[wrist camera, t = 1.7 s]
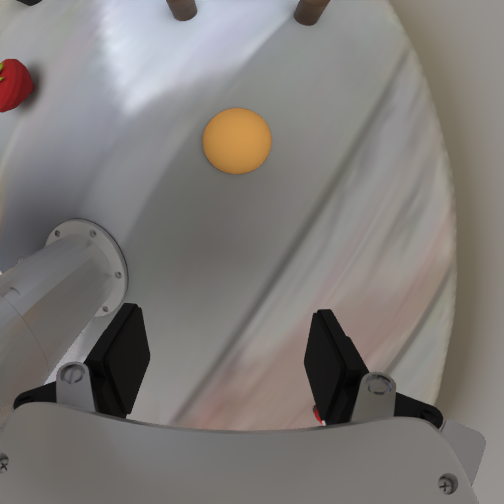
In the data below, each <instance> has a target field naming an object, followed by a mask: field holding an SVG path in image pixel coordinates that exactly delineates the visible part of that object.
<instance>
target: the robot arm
mask: <svg viewBox="0 0 504 504" xmlns="http://www.w3.org/2000/svg"><path fill="white" fill-rule="evenodd" d="M95 232H96V233H95ZM127 283H128V276H127V268H126V264H125V260H124V258H123V255H122V253H121V251H120V249H119V247H118V246H117V244H116V242H115V241H114V240H113V239H112V237H111V236H110V235H109V234H108V233H107V232H106V231H105V230H103V229H102V228H101V227H100V226H98V225H96V224H95V223H93V222H90V221H87V220H83V219H73V220H68V221H66V222H63V223H61V224H60V225H58V226H57V227H55V228H54V230H53V231H52V232H51V233H50V235H49V237H48V238H47V241H46V244H45V248H43V249H41V250H39V251H38V252H36V253H34V254H33V255H31V256H29V257H22V256H21V257H20V258H19V259H18V262H17V264H16V265H15V266H13V267H12V268H10V269H9V270H7V271H6V272H4V273H3V274H1V275H0V504H479V502H478V500H477V497H476V495H475V493H474V490H473V488H472V484H473V481H474V479H475V476H476V474H477V471H478V468H479V465H480V462H481V459H482V456H483V452H484V449H485V445H486V441H485V438H484V436H483V435H482V434H481V433H480V432H478V431H475V430H473V429H471V428H468V427H466V426H464V425H462V424H459V423H457V422H455V421H453V420H450V419H447V420H446V421H445V420H443V416H442V414H441V412H440V411H439V410H438V409H437V408H436V407H434V406H431V405H429V404H426V403H423V402H421V401H418V400H415V399H413V398H410V397H408V396H405V395H402V394H400V393H397V392H396V383H395V382H394V380H393V379H392V378H391V377H390V376H388V375H387V374H384V373H381V372H370V373H369V371H368V369H367V367H366V365H365V364H364V362H363V360H362V358H361V356H360V355H359V353H358V351H357V349H356V347H355V346H354V344H353V342H352V340H351V339H350V337H348V336H346V335H345V333H344V331H343V330H342V328H341V326H340V324H339V323H338V321H337V319H336V317H335V315H334V314H333V312H332V310H331V309H320V310H318V311H317V313H313V317H312V322H311V327H310V333H309V338H308V343H307V348H306V353H305V357H304V366H305V369H306V373H307V376H308V379H309V383H310V386H311V390H312V393H313V396H314V400H315V403H316V407H317V410H318V414H319V417H320V420H321V421H325V424H326V426H318V427H308V428H298V429H284V430H257V431H234V430H209V429H195V428H184V427H175V426H167V425H159V424H152V423H146V422H140V421H135V420H129V419H126V416H127V414H130V413H131V411H132V408H133V405H134V402H135V399H136V397H137V394H138V391H139V388H140V386H141V383H142V380H143V377H144V375H145V372H146V369H147V367H148V364H149V361H150V351H149V346H148V341H147V336H146V331H145V326H144V320H143V314H142V309H141V308H140V307H138V305H137V304H132V303H124V304H123V305H122V307H121V308H120V310H119V311H118V313H117V314H116V315H115V317H114V318H113V320H112V321H111V323H110V324H109V326H108V327H107V329H106V330H105V331H104V332H103V333H102V335H101V336H100V338H99V339H98V341H97V343H96V344H95V346H94V347H93V349H92V350H91V352H90V353H89V355H88V356H87V358H86V360H85V361H84V363H81V362H69V363H66V364H64V365H63V366H62V367H60V368H59V370H58V371H57V375H56V381H55V382H52V383H49V384H46V385H44V383H45V382H46V380H47V379H48V377H49V376H50V374H51V373H52V371H53V370H54V368H55V367H56V366H57V364H58V363H59V361H60V360H61V359H62V357H63V356H64V354H65V353H66V352H67V350H68V349H69V348H70V346H71V345H72V344H73V342H74V341H75V340H76V338H77V337H78V336H79V334H80V333H81V332H82V330H83V329H84V328H85V326H86V325H87V324H88V323H89V321H90V320H91V319H92V318H93V317H101V316H105V315H108V314H110V313H112V312H113V311H114V310H115V309H116V308H117V307H118V306H119V305H120V303H121V302H122V300H123V298H124V296H125V293H126V290H127Z"/></svg>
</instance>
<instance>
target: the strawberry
mask: <svg viewBox="0 0 504 504" xmlns="http://www.w3.org/2000/svg"><path fill="white" fill-rule="evenodd" d="M33 89H34V85H33V83H32V80H31V76H30V74H29V72H28V70H27V68H26V67H25V66H24V65H23V64H22V63H21V62H20V61H18V60H17V59H6V60H4V61H3V62H1V63H0V112H6V111H8V110H11V109H14V108H16V107H17V106H18V105H19V104H20V103H21V102H23V101H24V100H25V99H26V98H27V96H28V95H29V94H31V93H32V91H33Z"/></svg>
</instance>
